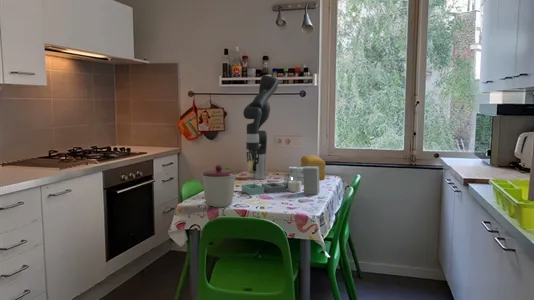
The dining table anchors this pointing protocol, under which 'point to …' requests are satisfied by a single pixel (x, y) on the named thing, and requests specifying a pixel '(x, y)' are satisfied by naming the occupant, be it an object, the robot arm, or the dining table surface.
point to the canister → (218, 186)
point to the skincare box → (311, 180)
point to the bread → (314, 164)
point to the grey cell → (287, 181)
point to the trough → (252, 189)
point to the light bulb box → (296, 174)
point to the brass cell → (251, 167)
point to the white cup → (294, 186)
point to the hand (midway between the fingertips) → (252, 170)
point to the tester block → (273, 187)
